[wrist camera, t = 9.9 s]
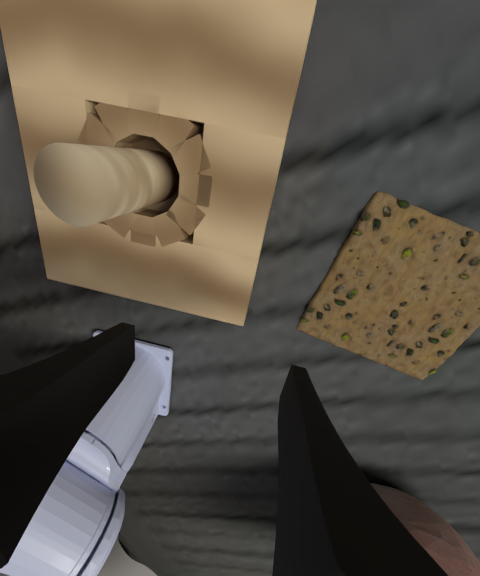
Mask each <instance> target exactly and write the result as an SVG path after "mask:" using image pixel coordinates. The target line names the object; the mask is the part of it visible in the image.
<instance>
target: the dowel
mask: <svg viewBox="0 0 480 576" xmlns="http://www.w3.org/2000/svg"><path fill="white" fill-rule="evenodd" d="M179 179H180V178H179V172H178V169H177V167H176V164H175V163H174V161H173V160H172V159H171V158H170V157H169V156H168V155H167V154H165V153H163V152H161V151H157V150H147V149H134V148H121V147H109V146H96V145H84V144H71V143H52V144H49V145H47V146H45V147H44V148H43V149H42V150H41V151H40V152H39V153H38V155H37V157H36V160H35V163H34V180H35V184H36V188H37V190H38V193H39V195H40V197H41V199H42V200H43V202H44V203H45V205H46V206H47V207H48V209H49V210H50V211H51V212H52V213H53V214H54V215H55V216H57V217H58V218H59V219H61V220H62V221H64V222H66V223H68V224H71V225H74V226H80V227H86V226H90V225H93V224H96V223H99V222H102V221H105V220H108V219H111V218H114V217H117V216H120V215H123V214H126V213H129V212H133V211H136V210H139V209H142V208H145V207H148V206H151V205H154V204H157V203H160V202H163V201H166V200H168V199H170V198H172V197H173V196H174V195H175V193H176V192H177V190H178V187H179Z"/></svg>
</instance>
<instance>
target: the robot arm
mask: <svg viewBox="0 0 480 576" xmlns="http://www.w3.org/2000/svg"><path fill="white" fill-rule="evenodd" d="M166 356H167V357H166ZM168 357H169V358H168ZM172 365H173V351H172V350H171V349H170V348H166V347H162V346H158V345H155V344H151V343H147V342H143V341H139V340H135V326H134V325H130V324H126V323H120V324H118V325H116V326H114V327H112V328H110V329H108V330H106V331H104V332H103V331H99V330H97V331H96V332H94V334H93V337H92V338H90V339H88V340H86V341H84V342H82V343H80V344H78V345H76V346H74V347H71V348H69V349H67V350H65V351H63V352H60V353H58V354H56V355H54V356H52V357H49V358H47V359H45V360H42V361H40V362H37V363H35V364H32V365H30V366H27V367H24V368H22V369H19V370H16V371H13V372H11V373H8V374H4V375H1V376H0V576H97V574H98V573H99V571H100V569H101V568H102V566H103V564H104V562H105V561H106V559H107V557H108V555H109V553H110V551H111V549H112V547H113V545H114V543H115V540H116V538H117V536H118V533H119V531H120V528H121V525H122V521H123V517H124V511H125V493H124V491H123V490H121V489H120V486H121V484H122V482H123V480H124V478H125V476H126V473H127V472H128V471H129V469H130V468H131V466H132V465H133V463H134V461H135V459H136V457H137V455H138V453H139V451H140V449H141V447H142V445H143V443H144V441H145V439H146V437H147V435H148V433H149V431H150V429H151V427H152V425H153V423H154V421H155V419H156V417H157V415H158V414H159V415H163V416H166V415H168V412H169V404H170V391H171V378H172ZM278 453H279V495H278V511H277V526H276V539H275V552H274V564H273V576H448V574H447V573H446V572H445V571H444V570H443V569H442V568H441V567H440V566H439V565H438V563H437V562H436V561H435V560H434V559H433V558H432V557H431V556H430V555H429V554H428V552H427V551H426V550H425V549H424V548H423V547H422V546H421V545H420V544H419V543H418V541H417V540H416V539H415V538H414V537H413V536H412V535H411V534H410V532H409V531H408V530H407V529H406V528H405V526H404V525H403V524H402V523H401V522H400V520H399V519H398V518H397V517H396V516H395V514H394V513H393V512H392V511H391V510H390V508H389V507H388V506H387V505H386V503H385V502H384V501H383V499H382V498H381V497H380V495H379V494H378V493H377V491H376V490H375V489H374V487H373V486H372V485H371V484H370V482H369V481H368V480H367V478H366V477H365V475H364V474H363V473H362V471H361V470H360V468H359V467H358V465H357V464H356V462H355V461H354V459H353V458H352V456H351V455H350V453H349V452H348V450H347V449H346V447H345V445H344V444H343V442H342V440H341V439H340V437H339V435H338V433H337V432H336V430H335V428H334V426H333V425H332V423H331V421H330V419H329V417H328V415H327V413H326V411H325V409H324V407H323V405H322V403H321V401H320V399H319V397H318V395H317V393H316V391H315V388H314V386H313V384H312V381H311V379H310V377H309V374H308V372H307V370H306V368H302V367H298V366H294V365H291V368H290V370H289V373H288V376H287V379H286V382H285V384H284V387H283V390H282V393H281V395H280V401H279V412H278Z"/></svg>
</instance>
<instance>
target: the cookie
mask: <svg viewBox="0 0 480 576" xmlns="http://www.w3.org/2000/svg"><path fill="white" fill-rule="evenodd" d="M479 326H480V233H478V232H476V231H475V230H473V229H470V228H468V227H465V226H461V225H459V224H457V223H455V222H453V221H451V220H449V219H445V218H442V217H439V216H436V215H433V214H431V213H430V212H427V211H426V210H424V209H421V208H419V207H416V206H413V205H411V204H409V202H407V201H405V200H404V201H402V200H399V199H396V198H395V197H393V196H391V195H390V194H387V193H384V192H376V193H375V194H374V195H373V196H372V198H371V199H370V201H369V203H368V204H367V205H366V207H365V208H364V210H363V212H362V214H361V217H360V218H359V220H358V222H357V223H356V225H355V226H354V228H353V230H352V232H351V234H350V236H349V238H348V239H347V240H346V241H345V243H344V245H343V246H342V248H341V249H340V251H339V254H338V256H337V257H336V259H335V262H334V263H333V265H332V266H331V268H330V270H329V271H328V274H327V276H326V277H325V279H324V280H323V282H322V283H321V285H320V287H319V289H318V291H317V292H316V293H315V295H314V297H313V299H312V300H311V301H310V302H309V304H308V307H307V309H306V311H305V313H304V314H303V316H302V318H301V320H300V322H299V324H298V325H297V326H296V329H297V330H300V331H302V332H304V333H306V334H309V335H311V336H313V337H316V338H318V339H321V340H323V341H326V342H329V343H331V344H332V345H334V346H337V347H341V348H344V349H346V350H349V351H351V352H353V353H356V354H359V355H361V356H363V357H366V358H368V359H371V360H374V361H376V362H377V363H380V364H384V365H386V366H389V367H390V368H393V369H395V370H397V371H400V372H403V373H405V374H408V375H410V376H413V377H415V378H417V379H419V380H423V379H424V378H425V377H427V376H429V375H431V374H433V373H435V372H436V371H437V370H438V367H439V366H440V365H441V364H442V363H443V362H444V361H445V360H446V359H447V358H449V357H450V356H452V354H453V353H454V352H455V350H456V349H457V348H458V347H459V346H460V345H461V344H462V343H463V342H464V340H466V339H467V338H469V336H470V335H471V334H472V333H473V332H474V331H475V330H476V329H477V328H478V327H479Z"/></svg>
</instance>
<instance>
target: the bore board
mask: <svg viewBox="0 0 480 576" xmlns="http://www.w3.org/2000/svg"><path fill="white" fill-rule="evenodd" d="M316 2H317V0H0V27H1V33H2V38H3V44H4V49H5V54H6V60H7V65H8V70H9V76H10V81H11V87H12V92H13V97H14V103H15V108H16V113H17V119H18V124H19V130H20V135H21V140H22V146H23V151H24V156H25V162H26V167H27V173H28V178H29V183H30V189H31V194H32V200H33V205H34V210H35V216H36V221H37V226H38V232H39V237H40V243H41V248H42V253H43V259H44V264H45V269H46V275H47V279H51V280H55V281H59V282H63V283H67V284H71V285H76V286H80V287H84V288H88V289H92V290H96V291H100V292H104V293H108V294H112V295H117V296H121V297H125V298H129V299H133V300H137V301H141V302H145V303H149V304H154V305H158V306H162V307H166V308H170V309H174V310H178V311H182V312H186V313H191V314H195V315H199V316H203V317H207V318H211V319H215V320H219V321H223V322H227V323H232V324H236V325H240V326H243V325H244V321H245V318H246V314H247V310H248V305H249V301H250V297H251V292H252V288H253V283H254V279H255V275H256V270H257V266H258V261H259V257H260V252H261V248H262V244H263V239H264V235H265V230H266V226H267V221H268V217H269V213H270V208H271V204H272V199H273V195H274V191H275V186H276V182H277V177H278V173H279V168H280V164H281V160H282V155H283V151H284V146H285V142H286V137H287V133H288V129H289V124H290V120H291V115H292V111H293V107H294V102H295V98H296V93H297V89H298V84H299V80H300V76H301V71H302V67H303V62H304V58H305V54H306V49H307V45H308V40H309V36H310V31H311V27H312V23H313V17H314V12H315V7H316ZM52 143H71V144H84V145H96V146H109V147H121V148H134V149H147V150H157V151H161V152H163V153H165V154H167V155H168V156H169V157H170V158H171V159H172V160H173V161H174V163H175V164H176V167H177V169H178V172H179V178H180V179H179V187H178V190H177V192H176V193H175V195H174V196H173V197H172V198H170V199H168V200H166V201H163V202H160V203H157V204H154V205H151V206H148V207H145V208H142V209H139V210H136V211H133V212H129V213H126V214H123V215H120V216H117V217H114V218H111V219H108V220H105V221H102V222H99V223H96V224H93V225H90V226H86V227H80V226H74V225H71V224H68V223H66V222H64V221H62V220H61V219H59V218H58V217H57V216H55V215H54V214H53V213H52V212H51V211H50V210H49V209H48V207H47V206H46V205H45V203H44V202H43V200H42V199H41V197H40V195H39V193H38V190H37V188H36V184H35V180H34V163H35V160H36V157H37V155H38V153H39V152H40V151H41V150H42V149H43V148H44V147H45V146H47V145H49V144H52Z"/></svg>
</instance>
